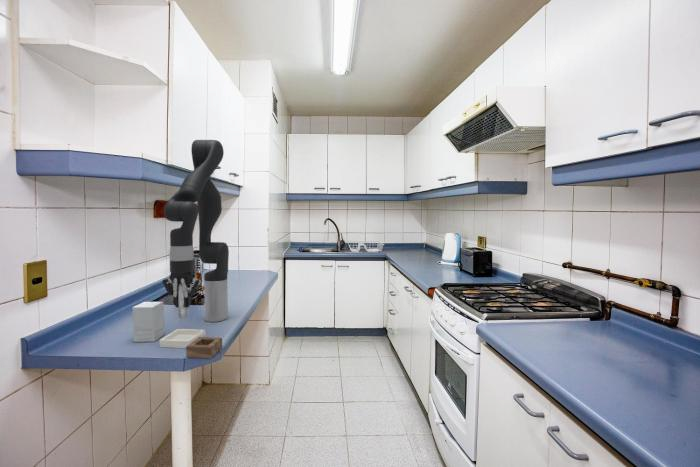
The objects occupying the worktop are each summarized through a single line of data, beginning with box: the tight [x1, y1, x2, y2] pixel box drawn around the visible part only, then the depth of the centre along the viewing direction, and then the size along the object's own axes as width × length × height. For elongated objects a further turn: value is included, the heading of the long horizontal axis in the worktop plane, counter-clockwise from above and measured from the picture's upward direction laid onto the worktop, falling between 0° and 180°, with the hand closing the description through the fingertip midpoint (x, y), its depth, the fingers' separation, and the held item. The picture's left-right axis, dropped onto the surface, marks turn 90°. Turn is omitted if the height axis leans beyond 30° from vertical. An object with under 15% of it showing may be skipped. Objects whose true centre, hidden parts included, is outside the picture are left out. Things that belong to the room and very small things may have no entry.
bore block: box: [185, 336, 223, 359], centre depth 107 cm, size 8×8×4 cm
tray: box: [158, 328, 206, 349], centre depth 115 cm, size 11×11×2 cm
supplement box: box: [131, 301, 165, 343], centre depth 118 cm, size 7×7×13 cm
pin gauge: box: [177, 284, 188, 319], centre depth 114 cm, size 3×3×12 cm
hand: (182, 306), depth 114 cm, fingers closed on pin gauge, 2 cm apart
